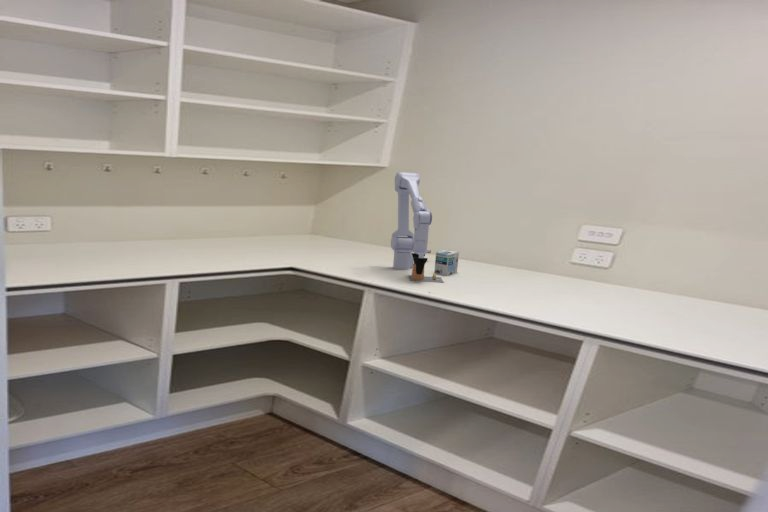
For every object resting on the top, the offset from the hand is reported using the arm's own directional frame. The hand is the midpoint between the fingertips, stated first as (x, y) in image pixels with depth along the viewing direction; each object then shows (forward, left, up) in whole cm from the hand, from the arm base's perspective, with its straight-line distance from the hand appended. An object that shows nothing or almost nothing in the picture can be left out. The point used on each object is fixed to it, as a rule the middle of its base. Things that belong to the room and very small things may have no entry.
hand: (418, 272), depth 218 cm
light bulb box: (-21, +1, -4) cm, 21 cm away
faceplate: (-2, +3, -4) cm, 5 cm away
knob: (0, 0, -3) cm, 3 cm away
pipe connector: (-40, -26, -4) cm, 48 cm away
